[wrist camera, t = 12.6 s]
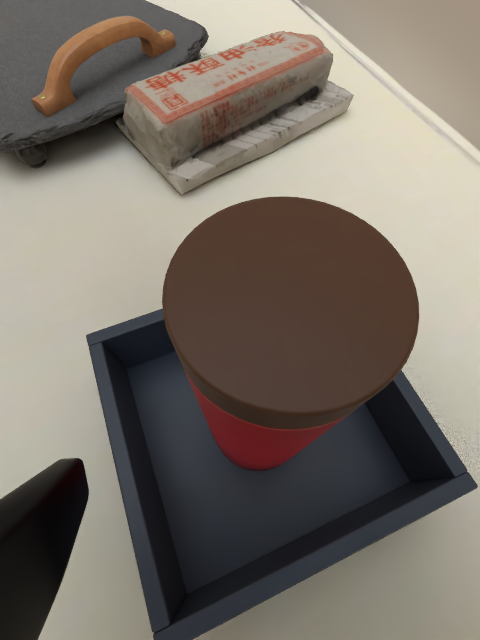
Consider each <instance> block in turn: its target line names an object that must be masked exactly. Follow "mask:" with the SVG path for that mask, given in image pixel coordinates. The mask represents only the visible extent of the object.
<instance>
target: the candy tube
mask: <svg viewBox="0 0 480 640" xmlns="http://www.w3.org/2000/svg"><path fill="white" fill-rule="evenodd" d="M162 305H163V315H164V320H165V324H166V328H167V332H168V334H169V337H170V339H171V341H172V344H173V346H174V348H175V350H176V353H177V355H178V357H179V360H180V362H181V364H182V366H183V369H184V371H185V373H186V375H187V378H188V380H189V382H190V384H191V387H192V389H193V391H194V394H195V396H196V398H197V400H198V403H199V405H200V407H201V409H202V412H203V414H204V416H205V418H206V421H207V423H208V425H209V427H210V430H211V432H212V434H213V437H214V439H215V441H216V443H217V445H218V447H219V449H220V451H221V452H222V453H223V454H224V456H225V457H226V458H227V459H228V460H230V461H231V462H232V463H234V464H235V465H237V466H239V467H241V468H244V469H247V470H252V471H265V470H270V469H273V468H276V467H278V466H280V465H282V464H283V463H285V462H286V461H287V460H289V459H290V458H291V457H293V456H294V455H295V454H297V453H298V452H299V451H301V450H302V449H303V448H305V447H306V446H307V445H309V444H310V443H311V442H313V441H314V440H315V439H317V438H318V437H319V436H321V435H322V434H324V433H325V432H326V431H328V430H329V429H330V428H332V427H333V426H334V425H336V424H337V423H338V422H340V421H341V420H342V419H344V418H345V417H346V416H348V415H349V414H350V413H352V412H353V411H354V410H356V409H357V408H358V407H360V406H361V405H362V404H364V403H365V402H366V401H368V400H369V399H370V398H372V397H373V396H375V395H376V394H377V393H379V392H380V391H381V390H383V389H384V388H385V387H386V386H387V385H388V384H389V383H390V382H391V381H392V380H393V379H394V378H395V377H396V376H397V375H398V373H399V372H400V370H401V369H402V368H403V366H404V365H405V363H406V362H407V360H408V358H409V355H410V353H411V351H412V349H413V346H414V343H415V339H416V336H417V331H418V323H419V303H418V297H417V292H416V288H415V285H414V282H413V279H412V276H411V274H410V272H409V270H408V268H407V266H406V264H405V262H404V260H403V259H402V258H401V256H400V255H399V253H398V252H397V250H396V249H395V248H394V247H393V246H392V244H391V243H390V242H389V241H388V240H387V239H386V238H385V237H384V236H383V235H382V234H381V233H380V232H378V231H377V230H376V229H375V228H374V227H372V226H371V225H369V224H368V223H367V222H365V221H364V220H362V219H360V218H359V217H357V216H355V215H354V214H352V213H350V212H347V211H345V210H343V209H341V208H339V207H336V206H333V205H330V204H327V203H324V202H320V201H316V200H312V199H305V198H298V197H267V198H260V199H254V200H250V201H245V202H241V203H239V204H236V205H233V206H230V207H228V208H226V209H223V210H221V211H219V212H217V213H216V214H214V215H212V216H211V217H209V218H207V219H206V220H205V221H203V222H202V223H201V224H200V225H198V226H197V227H196V228H195V229H194V230H193V231H192V232H191V233H190V234H189V235H188V236H187V237H186V238H185V239H184V241H183V242H182V243H181V245H180V246H179V247H178V249H177V251H176V252H175V254H174V256H173V258H172V260H171V262H170V265H169V268H168V270H167V273H166V276H165V281H164V286H163V297H162Z"/></svg>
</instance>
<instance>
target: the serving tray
mask: <svg viewBox="0 0 480 640" xmlns="http://www.w3.org/2000/svg"><path fill="white" fill-rule="evenodd" d="M208 37H209V36H208V34H207V31H206V30H205V28H204V27H203V26H201V25H200V24H198V23H196V22H195V21H192V20H189V19H187V18H184V17H182V16H180V15H179V14H176V13H174V12H171V11H168V10H165V9H163V8H162V7H159V6H157V5H155V4H152V3H150V2H147V1H145V0H0V152H10V151H15V153H16V155H17V157H18V158H19V159H20V160H21V161H22V162H23V163H25V164H27V165H29V166H30V167H32V168H38V167H41V166H43V165H44V164H45V163H46V150H45V147H44V145H43V144H42V143H45V142H50V141H52V140H55V139H57V138H60V137H63V136H67V135H70V134H72V133H74V132H77V131H79V130H83V129H86V128H88V127H91V126H93V125H96V124H98V123H100V122H102V121H104V120H106V119H108V118H111V117H113V116H116V115H118V114H121V113H123V112H124V107H125V103H126V99H125V94H124V92H125V88H127V87H129V86H130V85H131V84H133V83H136V82H137V81H142V80H145V79H147V78H149V77H152V76H155V75H158V74H161V73H163V72H166V71H169V70H172V69H175V68H177V67H180V66H182V65H185V64H188V63H191V62H194V61H197V60H200V59H201V56H200V50H201V49H202V48H203V46H204V45H205V44H206V42H207V40H208Z"/></svg>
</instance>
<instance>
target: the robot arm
mask: <svg viewBox="0 0 480 640" xmlns="http://www.w3.org/2000/svg"><path fill="white" fill-rule="evenodd" d="M88 496H89V489H88V484H87V478H86V473H85V468H84V464H83V461H82V460H81V459H79V458H70V459H61V460H58V461H57V462H55V463H54V464H52V465H51V466H49V467H48V468H46V469H45V470H43V471H42V472H40V473H39V474H37V475H36V476H34V477H33V478H31V479H30V480H28V481H27V482H26V483H24V484H23V485H21V486H20V487H18V488H17V489H15V490H14V491H12V492H11V493H9V494H8V495H6V496H5V497H3V498H2V499H0V640H38V638H39V635H40V633H41V631H42V628H43V626H44V623H45V621H46V619H47V616H48V614H49V612H50V609H51V607H52V604H53V602H54V600H55V597H56V595H57V592H58V590H59V587H60V585H61V582H62V579H63V577H64V574H65V571H66V568H67V565H68V561H69V558H70V555H71V552H72V549H73V546H74V543H75V539H76V536H77V533H78V530H79V527H80V524H81V520H82V517H83V514H84V511H85V508H86V505H87V501H88Z"/></svg>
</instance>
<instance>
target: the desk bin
mask: <svg viewBox="0 0 480 640" xmlns="http://www.w3.org/2000/svg"><path fill="white" fill-rule="evenodd" d="M86 338H87V342H88V346H89V351H90V355H91V359H92V364H93V368H94V373H95V377H96V382H97V386H98V391H99V395H100V400H101V404H102V409H103V413H104V418H105V422H106V427H107V431H108V436H109V440H110V445H111V449H112V454H113V458H114V463H115V467H116V472H117V476H118V480H119V485H120V489H121V494H122V498H123V503H124V507H125V512H126V516H127V521H128V525H129V530H130V534H131V539H132V543H133V548H134V552H135V557H136V561H137V566H138V570H139V575H140V579H141V584H142V588H143V593H144V597H145V601H146V606H147V610H148V615H149V619H150V624H151V628H152V632H153V633H154V635H153V637H154V640H192V639H194V638H196V637H198V636H200V635H202V634H204V633H206V632H207V631H209V630H211V629H213V628H215V627H217V626H219V625H221V624H223V623H224V622H226V621H228V620H230V619H232V618H234V617H236V616H238V615H239V614H241V613H243V612H245V611H247V610H249V609H251V608H253V607H254V606H256V605H258V604H260V603H262V602H264V601H266V600H268V599H269V598H271V597H273V596H275V595H277V594H279V593H281V592H283V591H285V590H286V589H288V588H290V587H292V586H294V585H296V584H298V583H300V582H301V581H303V580H305V579H307V578H309V577H311V576H313V575H315V574H316V573H318V572H320V571H322V570H324V569H326V568H328V567H330V566H332V565H333V564H335V563H337V562H339V561H341V560H343V559H345V558H347V557H348V556H350V555H352V554H354V553H356V552H358V551H360V550H362V549H363V548H365V547H367V546H369V545H371V544H373V543H375V542H377V541H379V540H380V539H382V538H384V537H386V536H388V535H390V534H392V533H394V532H395V531H397V530H399V529H401V528H403V527H405V526H407V525H409V524H410V523H412V522H414V521H416V520H418V519H420V518H422V517H424V516H426V515H427V514H429V513H431V512H433V511H435V510H437V509H439V508H441V507H442V506H444V505H446V504H448V503H450V502H452V501H454V500H456V499H457V498H459V497H461V496H463V495H465V494H467V493H469V492H471V491H472V490H474V489H476V488H477V487H478V486H477V484H476V483H475V481H474V480H473V478H472V477H471V475H470V474H469V473H468V472H467V469H466V467H465V466H464V464H463V463H462V461H461V460H460V458H459V457H458V455H457V454H456V452H455V451H454V449H453V447H452V446H451V444H450V443H449V441H448V440H447V438H446V437H445V435H444V434H443V432H442V431H441V429H440V428H439V426H438V425H437V423H436V422H435V420H434V419H433V417H432V416H431V414H430V413H429V411H428V410H427V408H426V407H425V405H424V404H423V402H422V401H421V399H420V398H419V396H418V395H417V393H416V392H415V390H414V389H413V387H412V386H411V384H410V383H409V381H408V380H407V378H406V377H405V375H404V373H403V372H402V370H400V372H399V373H398V375H397V376H396V377H395V378H394V379H393V380H392V381H391V382H390V383H389V384H388V385H387V386H386V387H385V388H384V389H383V390H381V391H380V392H379V393H377V394H376V395H375V396H373V397H372V398H370V399H369V400H368V401H366V402H365V403H364V404H362V405H361V406H360V407H358V408H357V409H356V410H354V411H353V412H352V413H350V414H349V415H348V416H346V417H345V418H344V419H342V420H341V421H340V422H338V423H337V424H336V425H334V426H333V427H332V428H330V429H329V430H328V431H326V432H325V433H324V434H322V435H321V436H319V437H318V438H317V439H315V440H314V441H313V442H311V443H310V444H309V445H307V446H306V447H305V448H303V449H302V450H301V451H299V452H298V453H297V454H295V455H294V456H293V457H291V458H290V459H289V460H287V461H286V462H285V463H283V464H282V465H280V466H278V467H276V468H273V469H270V470H265V471H252V470H247V469H244V468H241V467H239V466H237V465H235V464H234V463H232V462H231V461H230V460H228V459H227V458H226V457H225V456H224V454H223V453H222V452H221V451H220V449H219V447H218V445H217V443H216V441H215V439H214V437H213V434H212V432H211V430H210V427H209V425H208V423H207V421H206V418H205V416H204V414H203V412H202V409H201V407H200V405H199V403H198V400H197V398H196V396H195V394H194V391H193V389H192V387H191V384H190V382H189V380H188V378H187V375H186V373H185V371H184V369H183V366H182V364H181V362H180V360H179V357H178V355H177V353H176V350H175V348H174V346H173V344H172V341H171V339H170V337H169V334H168V332H167V328H166V324H165V320H164V315H163V309H160V310H157V311H154V312H152V313H149V314H146V315H143V316H140V317H137V318H134V319H131V320H128V321H125V322H123V323H120V324H117V325H114V326H111V327H108V328H105V329H102V330H99V331H96V332H93V333H91V334H88V335H86Z"/></svg>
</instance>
